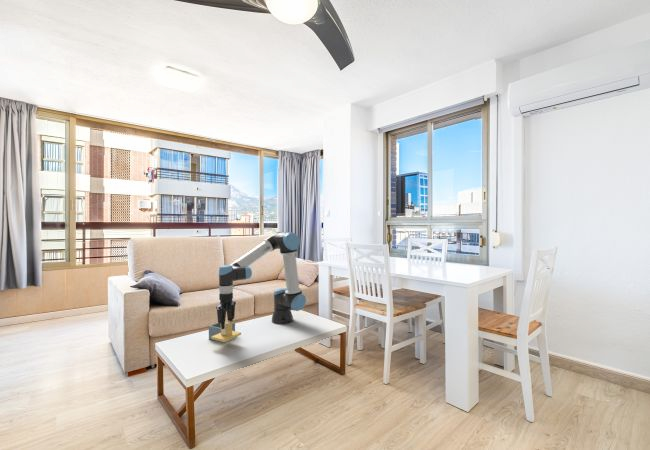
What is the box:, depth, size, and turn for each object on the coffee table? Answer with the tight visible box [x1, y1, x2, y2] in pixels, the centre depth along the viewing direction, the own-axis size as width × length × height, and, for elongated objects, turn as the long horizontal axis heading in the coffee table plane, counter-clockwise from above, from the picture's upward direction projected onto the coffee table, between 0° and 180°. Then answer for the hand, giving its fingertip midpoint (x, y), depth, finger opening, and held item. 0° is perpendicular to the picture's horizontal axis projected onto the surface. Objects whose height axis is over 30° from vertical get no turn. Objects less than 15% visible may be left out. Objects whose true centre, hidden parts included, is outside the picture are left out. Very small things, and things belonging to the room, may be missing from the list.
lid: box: [210, 320, 242, 343], centre depth 178 cm, size 13×11×9 cm
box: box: [208, 321, 236, 343], centre depth 192 cm, size 12×10×8 cm
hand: (226, 333), depth 178 cm, fingers closed on lid, 3 cm apart
